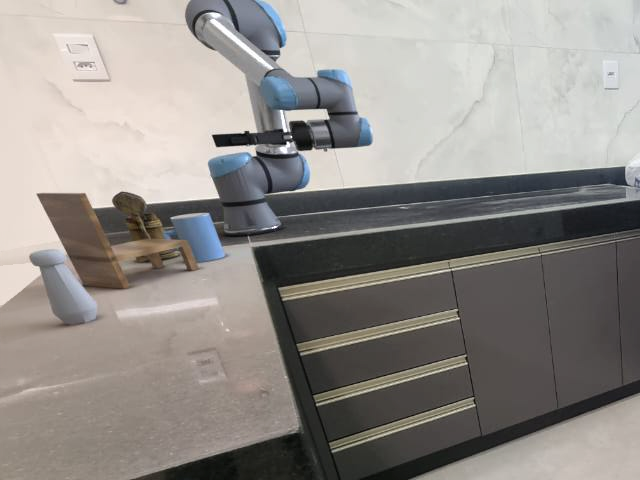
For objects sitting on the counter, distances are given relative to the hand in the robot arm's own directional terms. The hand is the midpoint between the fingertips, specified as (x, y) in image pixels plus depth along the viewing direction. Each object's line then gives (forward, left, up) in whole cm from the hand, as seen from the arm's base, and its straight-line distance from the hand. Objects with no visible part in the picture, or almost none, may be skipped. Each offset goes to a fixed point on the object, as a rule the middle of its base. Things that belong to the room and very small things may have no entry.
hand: (213, 140), depth 132 cm
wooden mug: (+12, -20, -28) cm, 36 cm away
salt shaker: (+49, +19, -28) cm, 60 cm away
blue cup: (+10, -6, -28) cm, 30 cm away
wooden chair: (+25, -4, -28) cm, 38 cm away
